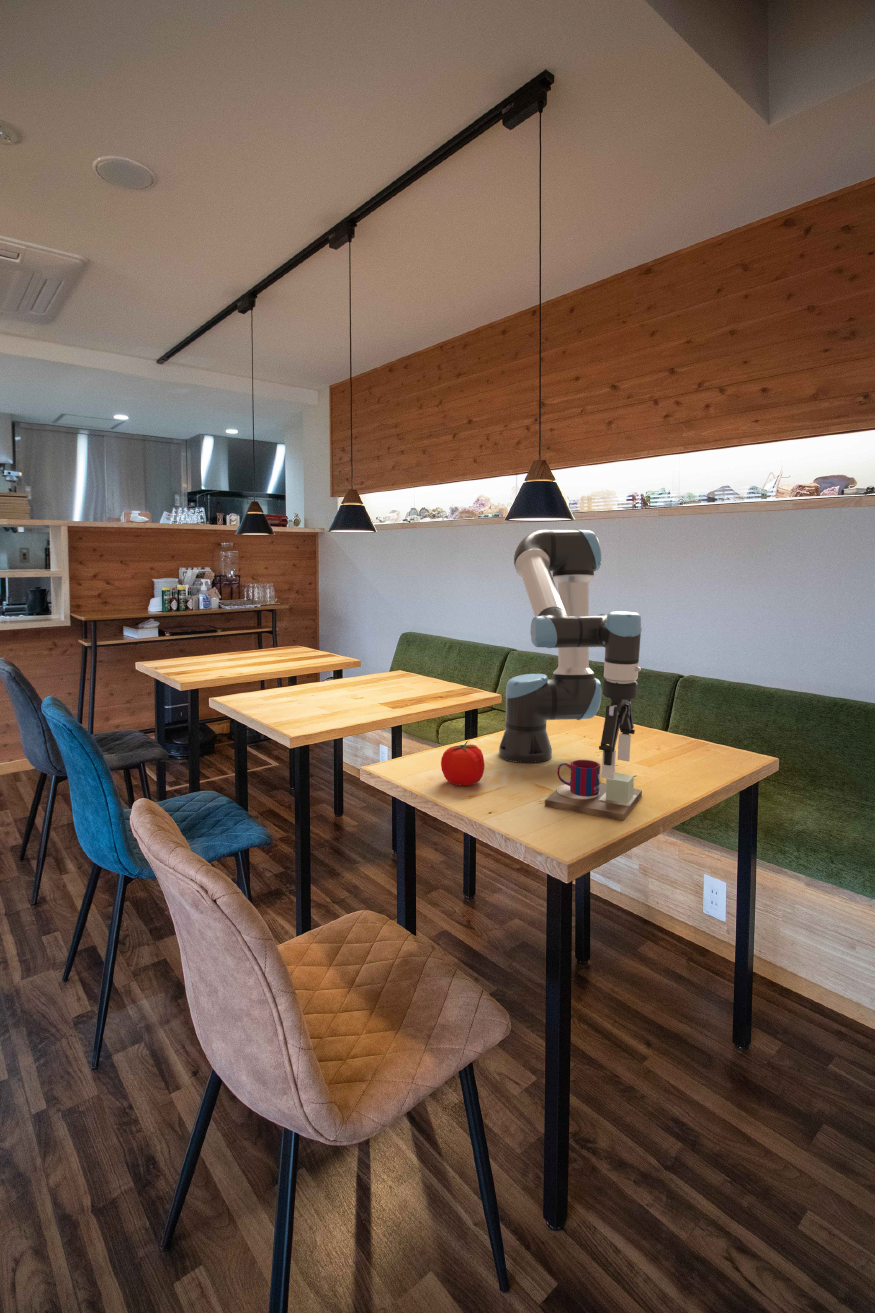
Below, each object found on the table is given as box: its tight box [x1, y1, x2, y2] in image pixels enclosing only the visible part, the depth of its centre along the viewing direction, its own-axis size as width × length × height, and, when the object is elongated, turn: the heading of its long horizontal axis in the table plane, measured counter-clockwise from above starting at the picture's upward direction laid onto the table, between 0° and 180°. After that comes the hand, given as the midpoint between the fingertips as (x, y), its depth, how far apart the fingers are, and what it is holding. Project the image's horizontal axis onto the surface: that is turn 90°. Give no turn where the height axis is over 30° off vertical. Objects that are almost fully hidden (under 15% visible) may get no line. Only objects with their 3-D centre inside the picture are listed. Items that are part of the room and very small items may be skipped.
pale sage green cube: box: [605, 772, 635, 803], centre depth 155 cm, size 5×5×5 cm
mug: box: [556, 759, 601, 796], centre depth 160 cm, size 7×10×7 cm
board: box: [544, 777, 643, 822], centre depth 159 cm, size 18×18×2 cm
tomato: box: [440, 740, 485, 787], centre depth 171 cm, size 11×13×10 cm
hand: (616, 768), depth 157 cm, fingers open, 13 cm apart
